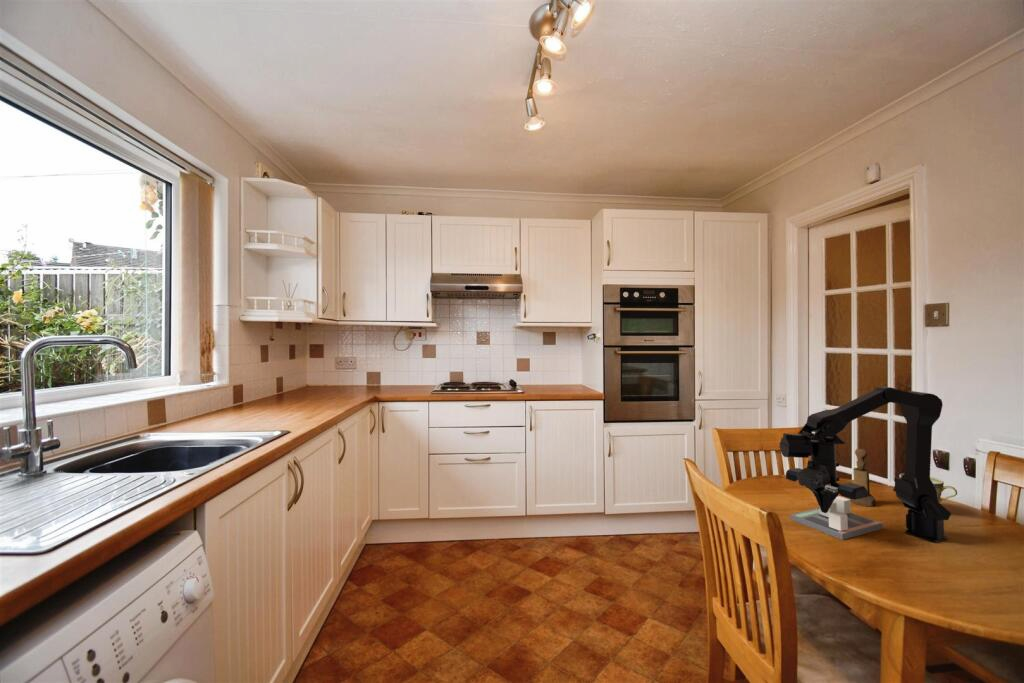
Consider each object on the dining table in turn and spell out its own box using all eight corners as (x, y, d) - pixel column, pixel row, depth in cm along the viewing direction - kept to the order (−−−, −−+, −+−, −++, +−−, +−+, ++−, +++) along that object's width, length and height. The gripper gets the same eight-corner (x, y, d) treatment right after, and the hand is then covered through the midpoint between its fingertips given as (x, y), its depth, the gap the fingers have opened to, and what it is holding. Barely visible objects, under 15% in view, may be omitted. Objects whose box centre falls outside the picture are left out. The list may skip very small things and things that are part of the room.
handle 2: (847, 529, 111) (847, 514, 111) (840, 531, 110) (840, 516, 110) (835, 524, 114) (835, 510, 114) (828, 526, 113) (828, 512, 113)
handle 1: (836, 516, 119) (836, 502, 119) (830, 517, 118) (829, 504, 118) (825, 512, 122) (825, 499, 122) (819, 514, 121) (819, 500, 121)
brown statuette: (845, 501, 135) (843, 447, 136) (855, 497, 138) (854, 445, 138) (869, 508, 129) (867, 452, 130) (879, 504, 132) (878, 450, 132)
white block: (850, 512, 122) (850, 499, 122) (844, 514, 121) (844, 501, 121) (839, 509, 124) (839, 496, 124) (833, 510, 123) (833, 497, 123)
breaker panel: (882, 528, 115) (882, 523, 115) (842, 539, 109) (842, 534, 109) (829, 510, 128) (829, 505, 128) (790, 519, 122) (790, 514, 122)
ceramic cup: (894, 507, 130) (893, 476, 130) (907, 501, 134) (906, 471, 135) (951, 522, 118) (950, 488, 118) (964, 515, 123) (963, 483, 123)
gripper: (772, 453, 121) (773, 504, 121) (841, 470, 104) (842, 531, 104) (797, 449, 125) (798, 499, 125) (868, 465, 108) (869, 523, 107)
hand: (824, 512), depth 115 cm, fingers closed
